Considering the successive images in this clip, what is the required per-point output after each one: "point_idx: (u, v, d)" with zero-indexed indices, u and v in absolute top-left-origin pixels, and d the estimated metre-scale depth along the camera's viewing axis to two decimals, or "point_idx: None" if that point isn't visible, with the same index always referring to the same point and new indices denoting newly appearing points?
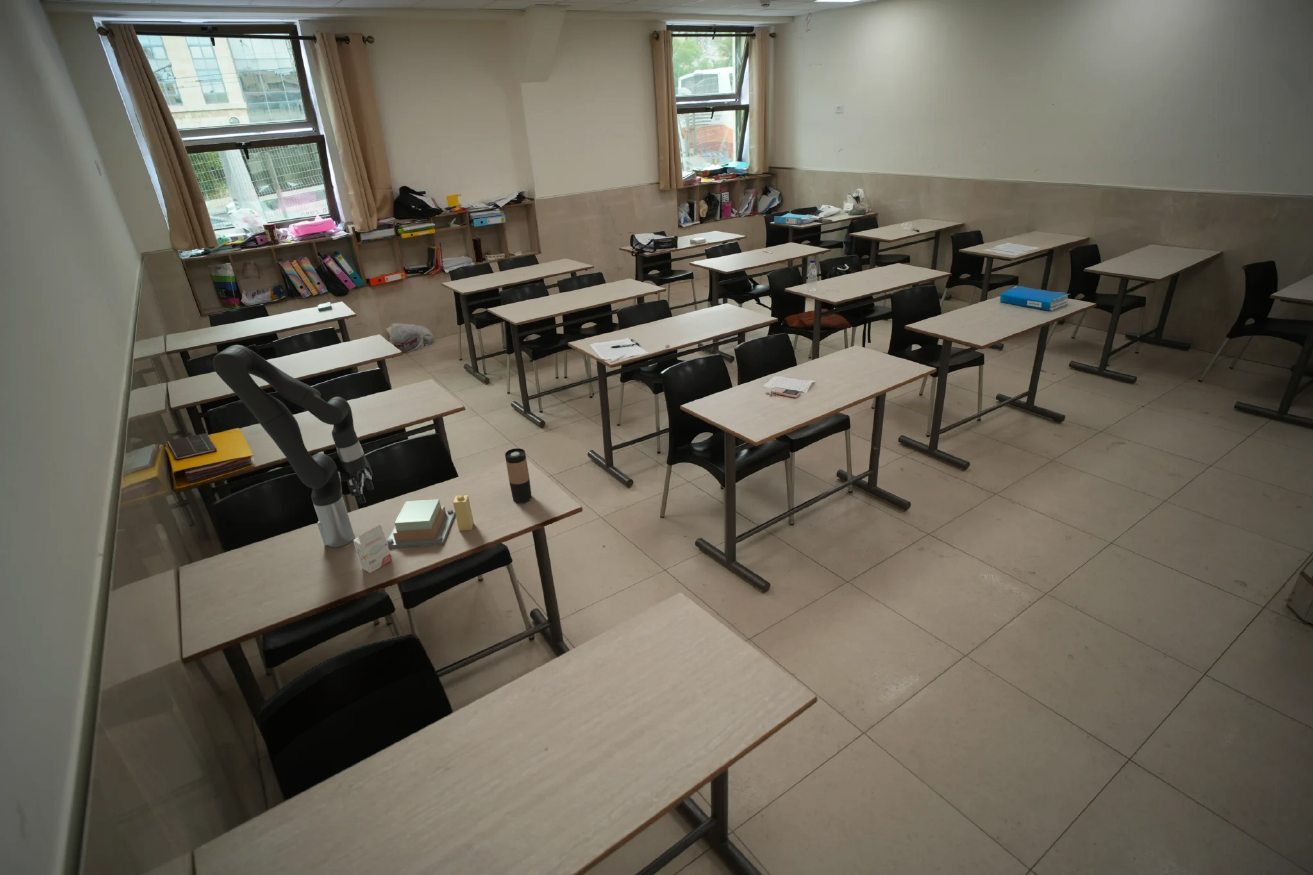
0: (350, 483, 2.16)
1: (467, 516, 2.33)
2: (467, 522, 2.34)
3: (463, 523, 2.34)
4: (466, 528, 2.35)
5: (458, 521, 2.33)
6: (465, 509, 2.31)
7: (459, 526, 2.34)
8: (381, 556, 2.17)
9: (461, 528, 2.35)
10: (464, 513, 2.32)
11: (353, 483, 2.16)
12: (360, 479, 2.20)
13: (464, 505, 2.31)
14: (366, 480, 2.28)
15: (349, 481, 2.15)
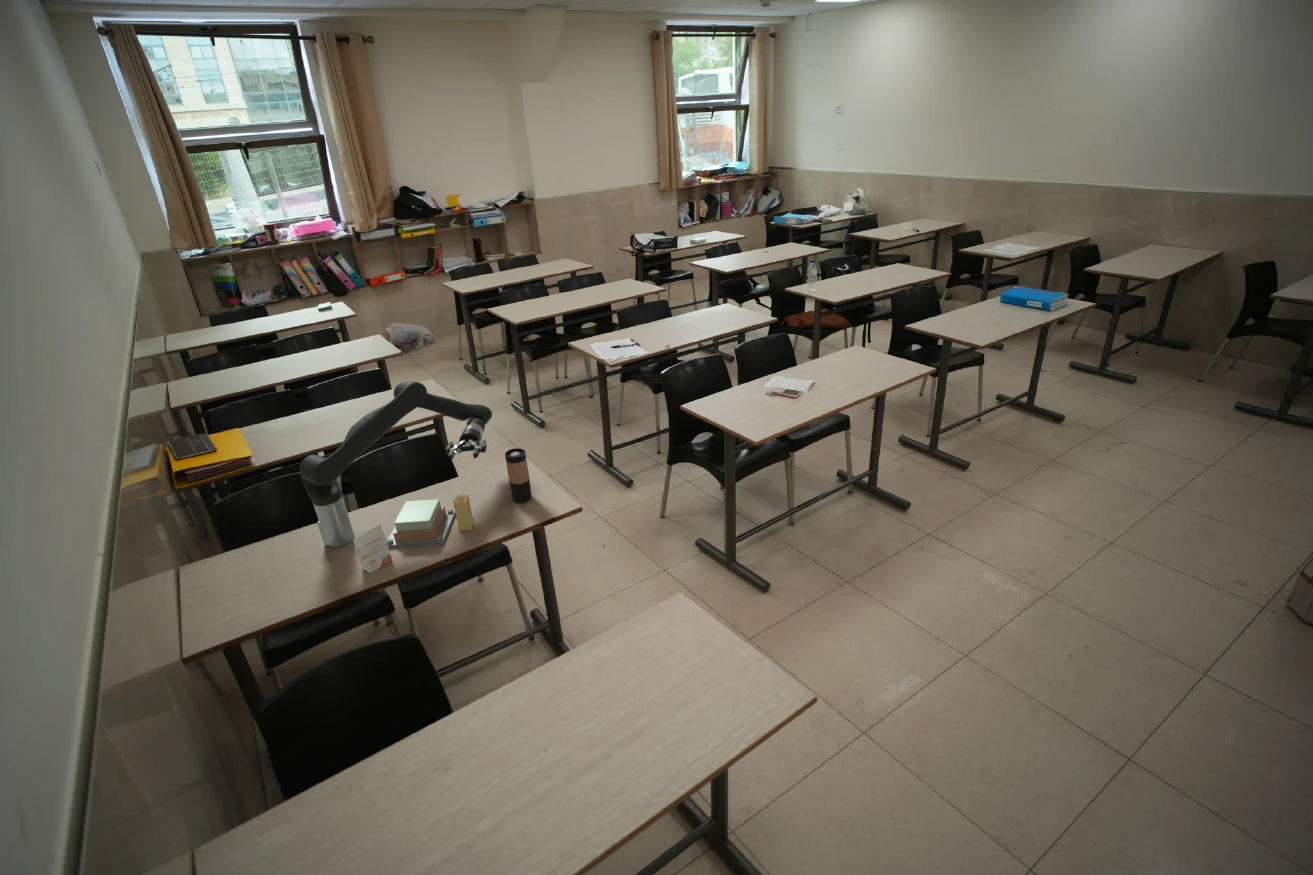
0: (486, 443, 2.46)
1: (467, 516, 2.33)
2: (467, 522, 2.34)
3: (463, 523, 2.34)
4: (466, 528, 2.35)
5: (458, 521, 2.33)
6: (465, 509, 2.31)
7: (459, 526, 2.34)
8: (381, 556, 2.17)
9: (461, 528, 2.35)
10: (464, 513, 2.32)
11: (486, 445, 2.46)
12: None
13: (464, 505, 2.31)
14: (453, 451, 2.41)
15: None
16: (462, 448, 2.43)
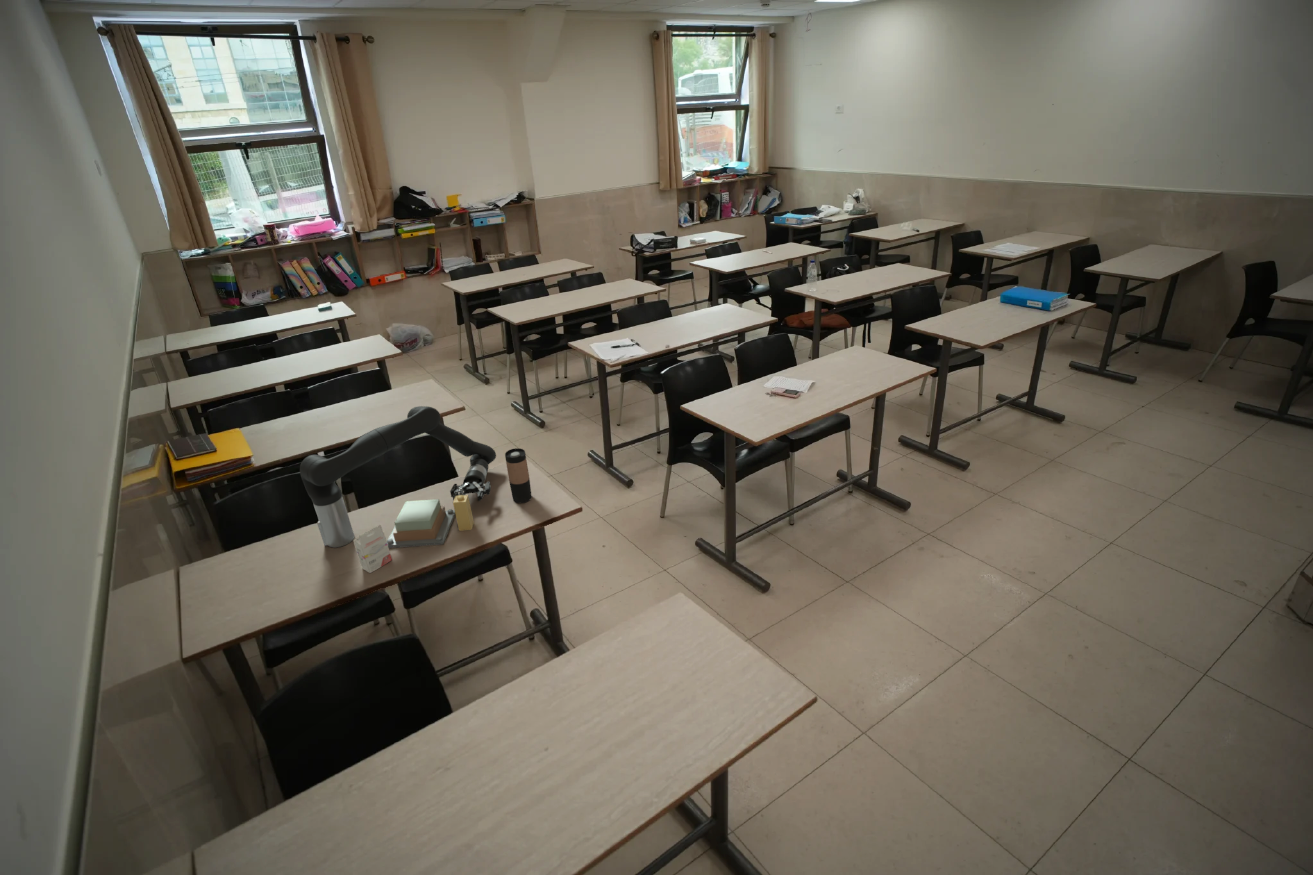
0: None
1: (467, 516, 2.33)
2: (467, 522, 2.34)
3: (463, 523, 2.34)
4: (466, 528, 2.35)
5: (458, 521, 2.33)
6: (465, 509, 2.31)
7: (459, 526, 2.34)
8: (381, 556, 2.17)
9: (461, 528, 2.35)
10: (464, 513, 2.32)
11: (490, 487, 2.49)
12: None
13: (464, 505, 2.31)
14: (458, 494, 2.44)
15: (489, 483, 2.50)
16: (466, 490, 2.46)
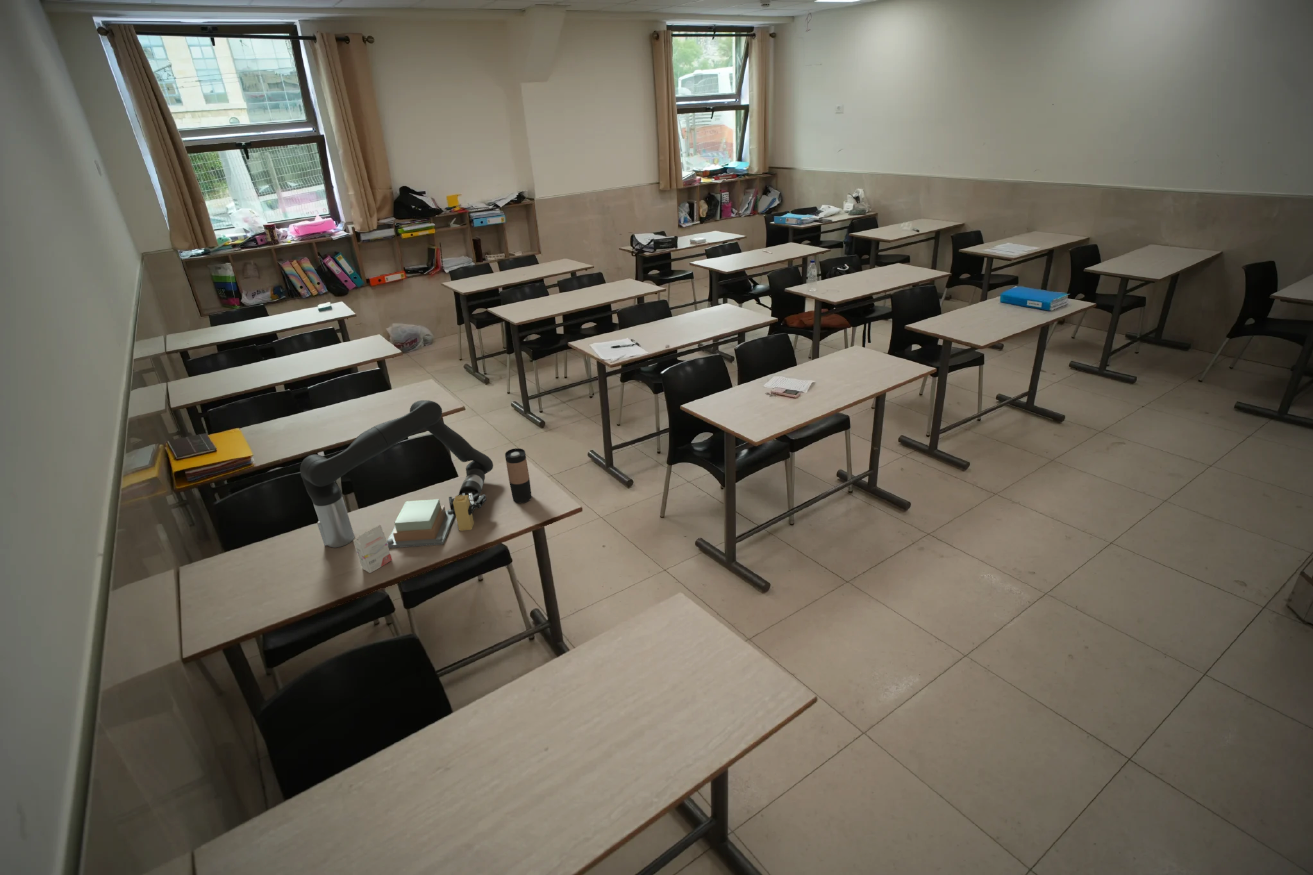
0: (484, 498, 2.40)
1: (467, 516, 2.33)
2: (467, 522, 2.34)
3: (463, 523, 2.34)
4: (466, 528, 2.35)
5: (458, 521, 2.33)
6: (465, 509, 2.31)
7: (459, 526, 2.34)
8: (381, 556, 2.17)
9: (461, 528, 2.35)
10: (464, 513, 2.32)
11: (485, 500, 2.41)
12: None
13: (464, 505, 2.31)
14: None
15: (485, 497, 2.41)
16: None
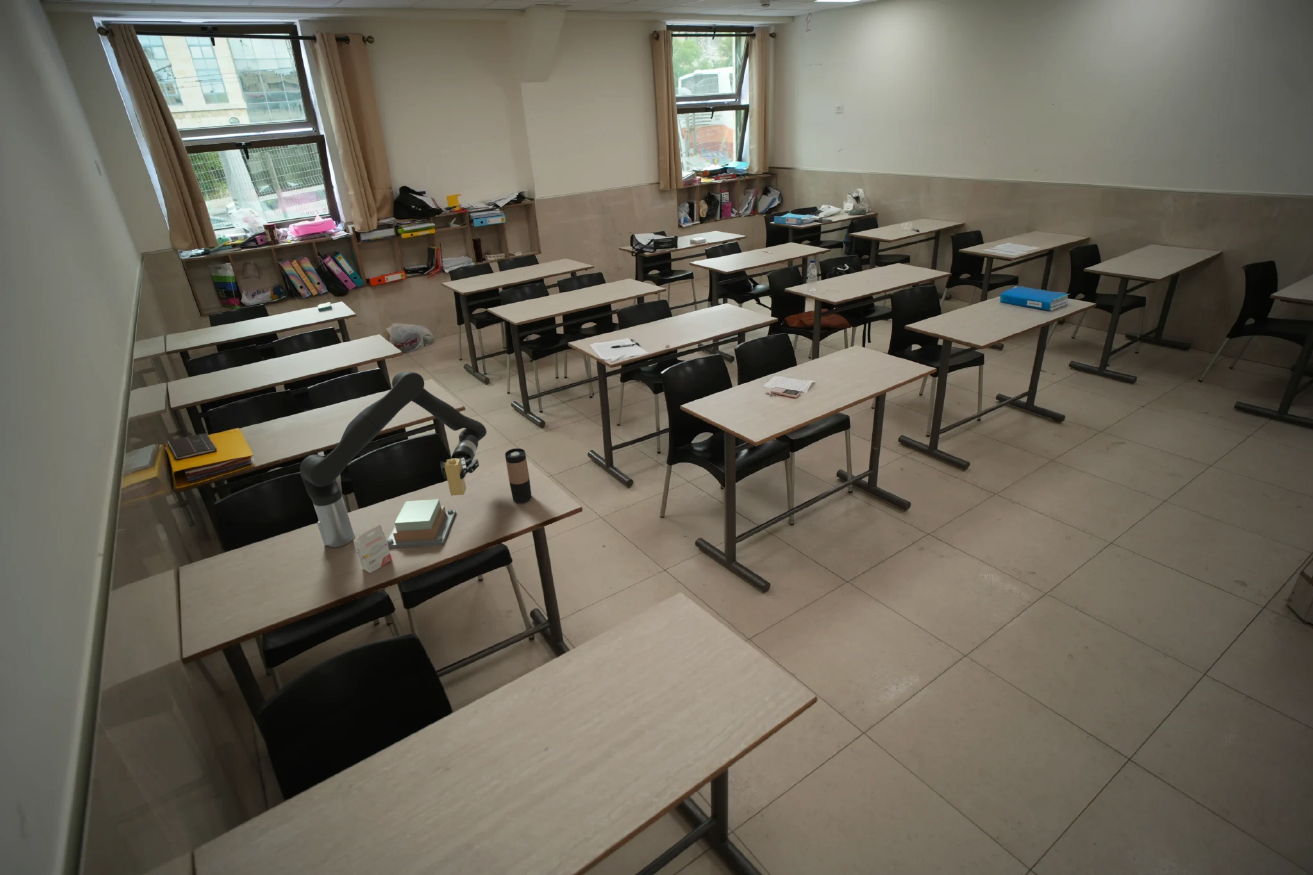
0: (477, 463, 2.33)
1: (459, 480, 2.26)
2: (459, 486, 2.27)
3: (455, 487, 2.27)
4: (458, 493, 2.28)
5: (450, 485, 2.27)
6: (456, 473, 2.25)
7: (451, 491, 2.28)
8: (381, 556, 2.17)
9: (453, 493, 2.28)
10: (456, 477, 2.25)
11: (477, 465, 2.34)
12: None
13: (456, 468, 2.24)
14: None
15: None
16: None
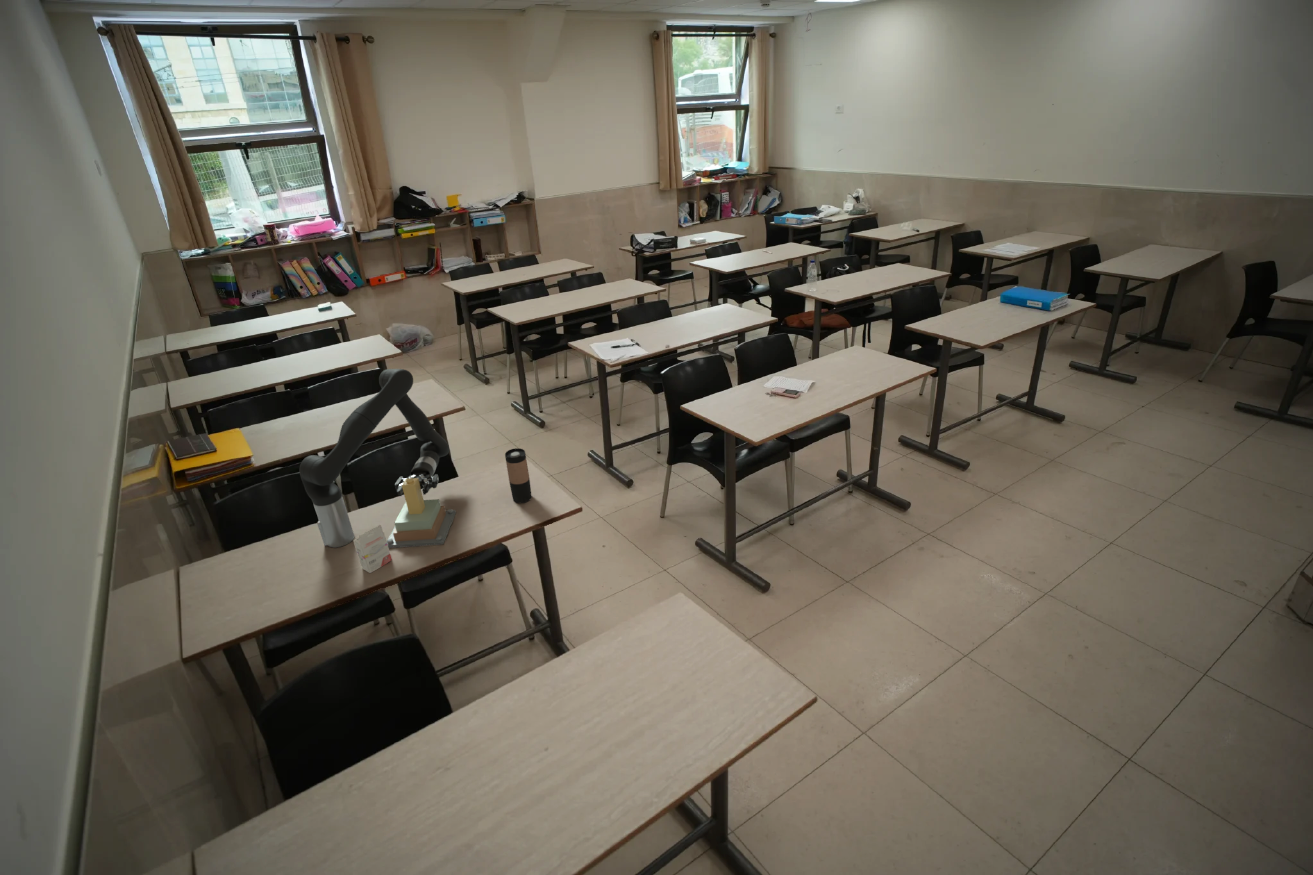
0: (437, 478, 2.37)
1: (417, 499, 2.29)
2: (417, 505, 2.30)
3: (413, 506, 2.30)
4: (416, 512, 2.31)
5: (408, 504, 2.29)
6: (414, 492, 2.27)
7: (409, 510, 2.30)
8: (381, 556, 2.17)
9: (411, 512, 2.31)
10: (414, 496, 2.28)
11: (438, 480, 2.37)
12: None
13: (413, 488, 2.26)
14: None
15: (437, 476, 2.37)
16: None
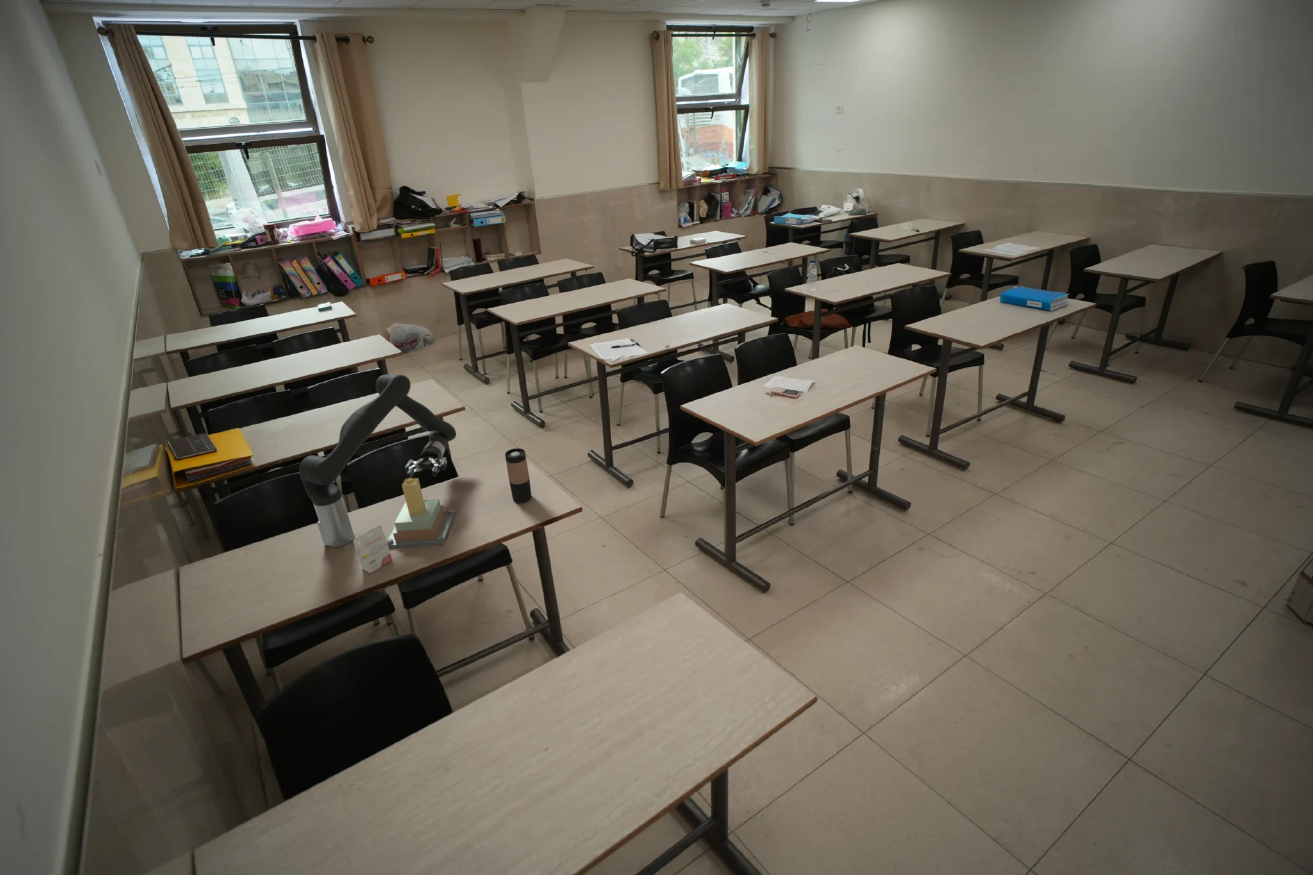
0: None
1: (417, 499, 2.29)
2: (417, 505, 2.30)
3: (413, 506, 2.30)
4: (416, 512, 2.31)
5: (408, 504, 2.29)
6: (414, 492, 2.27)
7: (409, 510, 2.30)
8: (381, 556, 2.17)
9: (411, 512, 2.31)
10: (414, 496, 2.28)
11: (446, 463, 2.48)
12: None
13: (413, 488, 2.26)
14: None
15: None
16: (422, 466, 2.45)
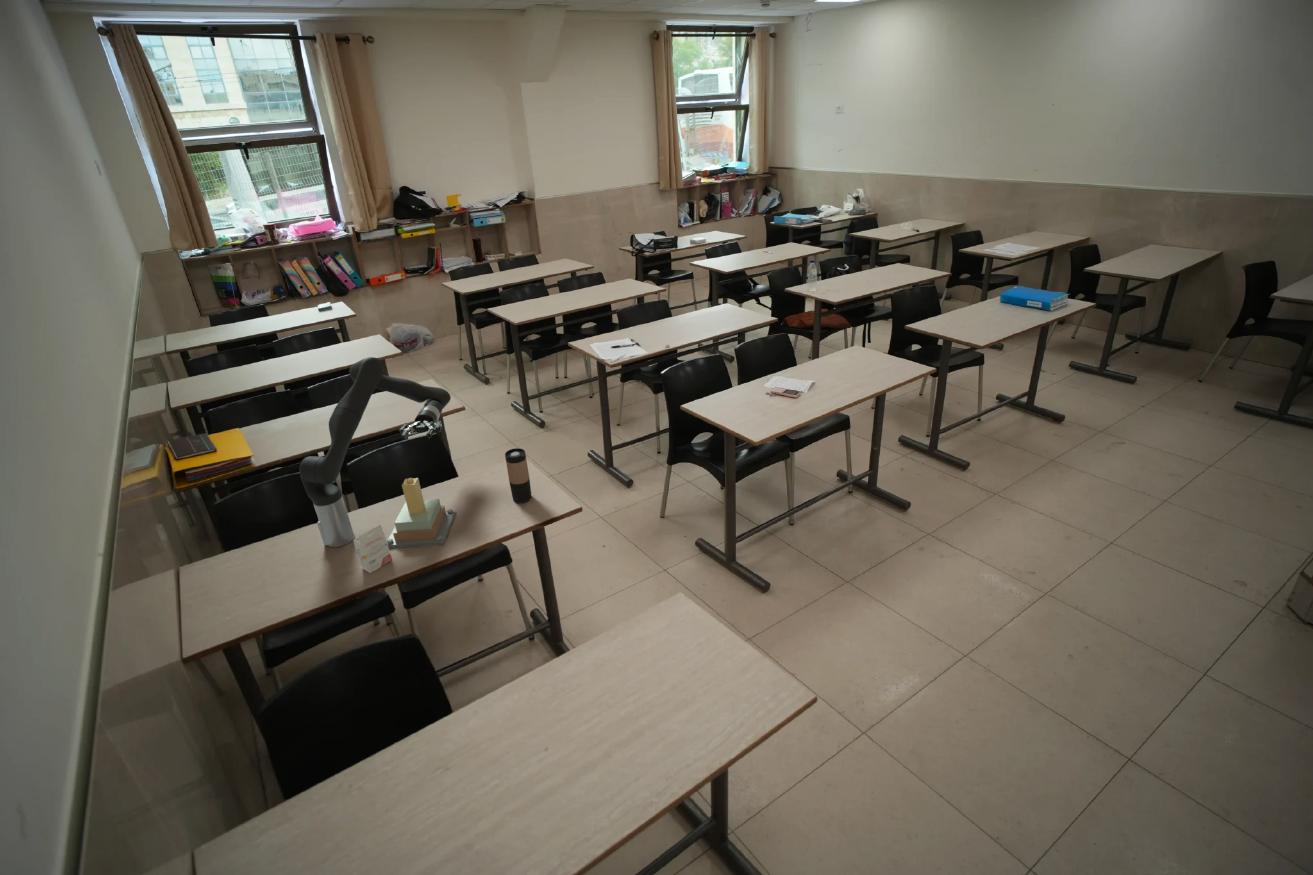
0: (441, 424, 2.45)
1: (417, 499, 2.29)
2: (417, 505, 2.30)
3: (413, 506, 2.30)
4: (416, 512, 2.31)
5: (408, 504, 2.29)
6: (414, 492, 2.27)
7: (409, 510, 2.30)
8: (381, 556, 2.17)
9: (411, 512, 2.31)
10: (414, 496, 2.28)
11: (441, 426, 2.45)
12: None
13: (413, 488, 2.26)
14: (407, 432, 2.40)
15: None
16: (416, 429, 2.42)
